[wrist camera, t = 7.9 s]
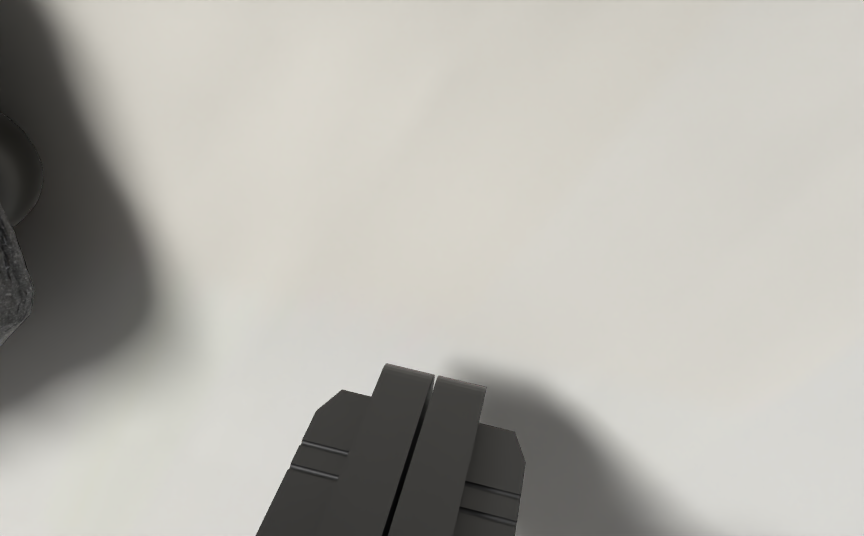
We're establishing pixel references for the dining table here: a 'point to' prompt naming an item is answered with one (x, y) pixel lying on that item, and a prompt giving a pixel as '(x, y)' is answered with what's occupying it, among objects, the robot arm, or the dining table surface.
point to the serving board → (15, 222)
